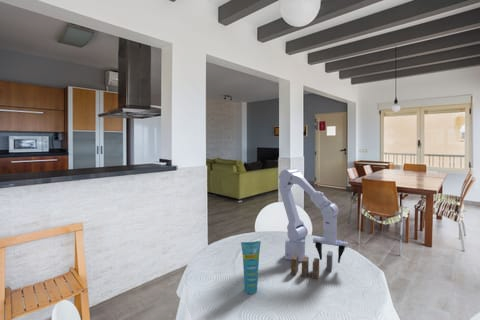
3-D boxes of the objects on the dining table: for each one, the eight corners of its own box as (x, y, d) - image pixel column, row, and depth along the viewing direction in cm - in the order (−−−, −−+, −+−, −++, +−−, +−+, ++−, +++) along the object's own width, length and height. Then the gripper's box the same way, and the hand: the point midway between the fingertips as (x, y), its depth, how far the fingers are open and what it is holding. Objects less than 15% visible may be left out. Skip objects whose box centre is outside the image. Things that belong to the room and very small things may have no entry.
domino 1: (291, 274, 109) (291, 258, 109) (293, 269, 114) (293, 254, 113) (295, 275, 108) (295, 259, 108) (298, 270, 113) (298, 255, 112)
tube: (243, 295, 94) (242, 244, 93) (240, 288, 98) (239, 239, 98) (262, 292, 95) (262, 242, 94) (258, 285, 100) (258, 238, 99)
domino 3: (312, 279, 105) (312, 262, 105) (314, 273, 110) (314, 257, 109) (317, 280, 104) (317, 263, 104) (319, 274, 109) (319, 258, 109)
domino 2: (301, 276, 107) (301, 260, 107) (303, 271, 112) (303, 256, 111) (306, 277, 106) (306, 261, 106) (308, 272, 111) (308, 256, 110)
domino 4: (326, 270, 112) (326, 255, 112) (327, 265, 117) (327, 250, 117) (331, 271, 112) (331, 255, 111) (332, 266, 116) (332, 251, 116)
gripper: (311, 231, 113) (311, 261, 113) (347, 235, 107) (346, 267, 107) (314, 226, 119) (314, 255, 120) (347, 230, 113) (347, 260, 114)
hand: (329, 260), depth 114 cm, fingers open, 7 cm apart
